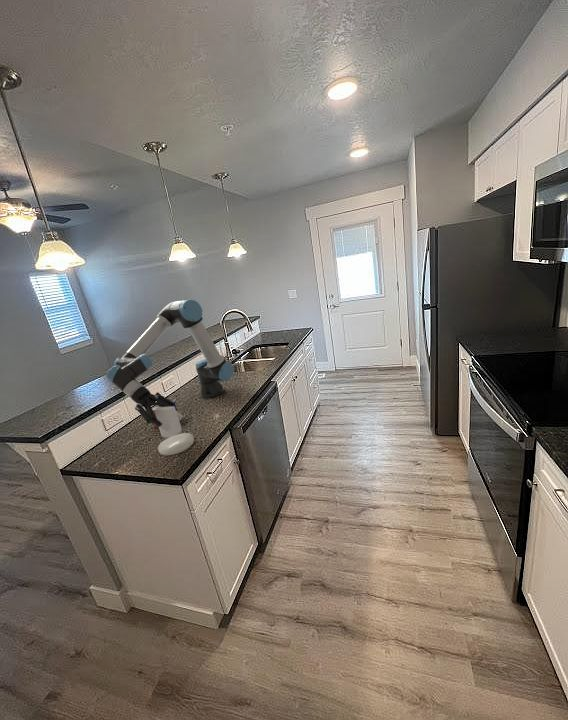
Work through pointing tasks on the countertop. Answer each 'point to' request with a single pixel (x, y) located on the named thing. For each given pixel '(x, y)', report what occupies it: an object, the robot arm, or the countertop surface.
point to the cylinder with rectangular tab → (168, 420)
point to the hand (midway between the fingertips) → (174, 423)
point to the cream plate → (176, 444)
